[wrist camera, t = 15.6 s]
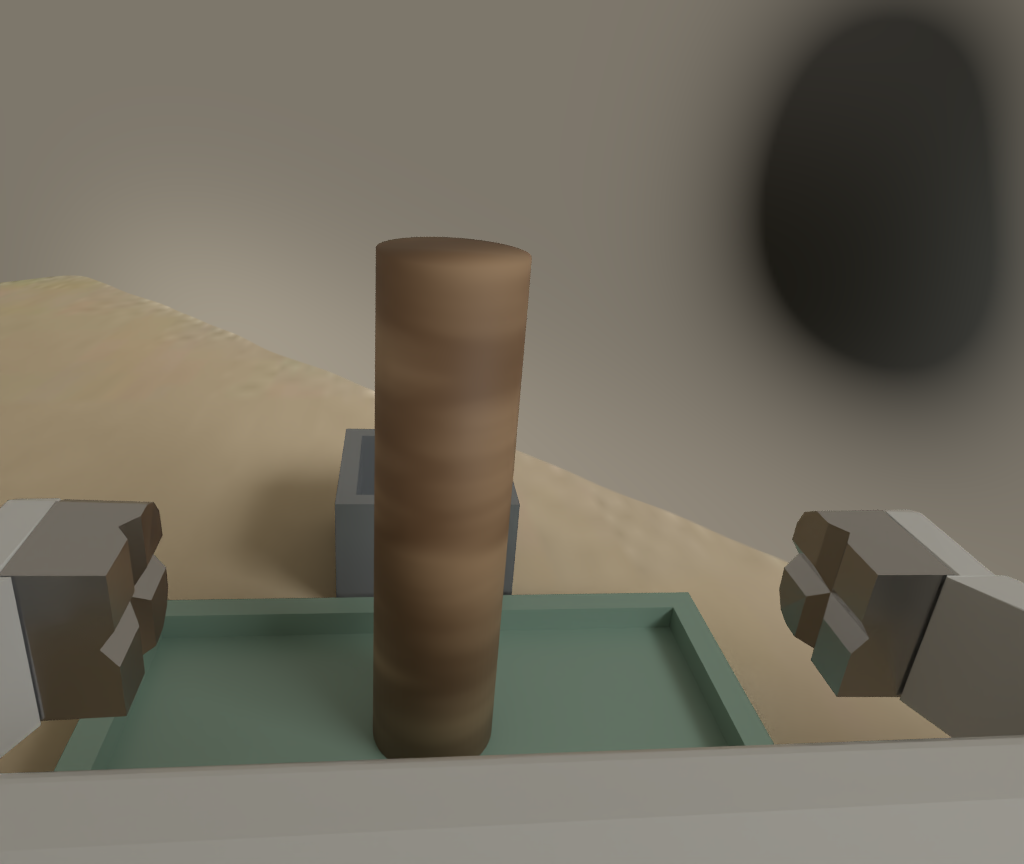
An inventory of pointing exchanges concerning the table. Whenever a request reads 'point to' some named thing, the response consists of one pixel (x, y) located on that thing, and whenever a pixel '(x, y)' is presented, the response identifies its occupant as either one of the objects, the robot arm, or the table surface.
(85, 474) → the table surface
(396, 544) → the dowel
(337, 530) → the grey square sleeve
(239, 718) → the tray
